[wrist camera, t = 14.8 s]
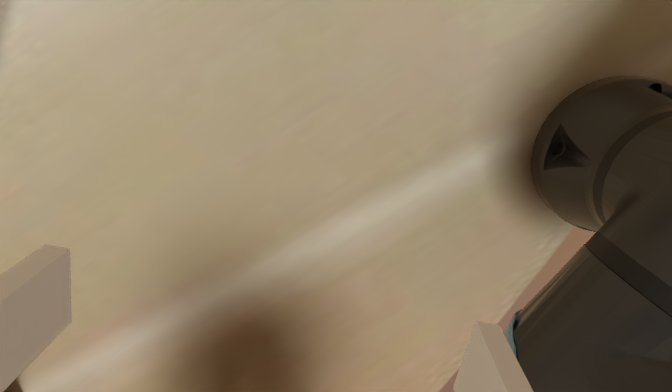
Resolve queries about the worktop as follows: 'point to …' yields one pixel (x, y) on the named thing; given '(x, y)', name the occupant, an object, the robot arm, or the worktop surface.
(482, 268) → the worktop surface
